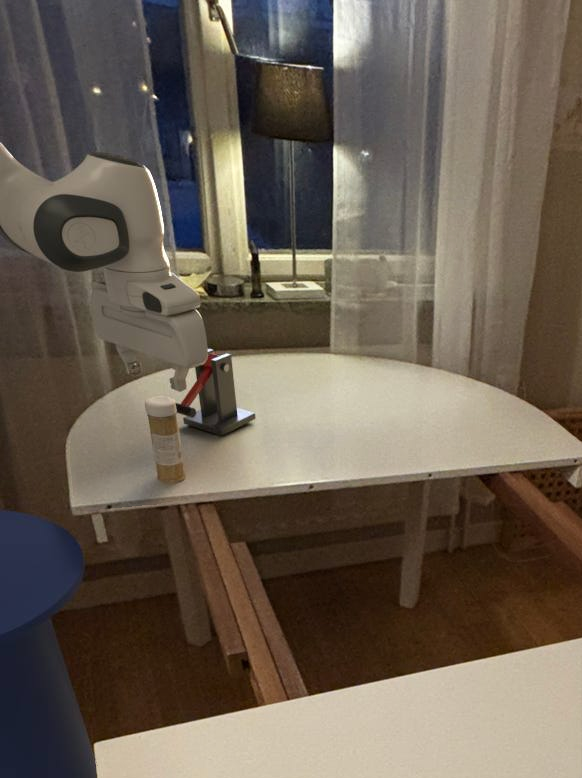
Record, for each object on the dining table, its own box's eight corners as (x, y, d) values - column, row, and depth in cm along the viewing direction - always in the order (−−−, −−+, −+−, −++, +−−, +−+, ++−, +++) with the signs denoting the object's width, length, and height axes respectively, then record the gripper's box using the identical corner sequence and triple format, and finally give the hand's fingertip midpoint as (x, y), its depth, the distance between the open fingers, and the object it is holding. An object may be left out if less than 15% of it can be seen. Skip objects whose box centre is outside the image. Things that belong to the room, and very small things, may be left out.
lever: (193, 420, 138) (187, 412, 136) (171, 414, 139) (165, 405, 137) (231, 366, 142) (225, 357, 140) (209, 360, 143) (203, 350, 141)
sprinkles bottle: (166, 471, 130) (153, 393, 122) (191, 476, 130) (180, 397, 122) (151, 482, 127) (138, 402, 119) (177, 486, 126) (165, 407, 118)
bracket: (222, 435, 143) (213, 367, 135) (183, 423, 145) (173, 356, 138) (255, 418, 150) (249, 353, 142) (218, 407, 153) (210, 342, 145)
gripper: (71, 275, 111) (92, 370, 119) (174, 306, 104) (189, 404, 112) (107, 268, 115) (125, 360, 124) (208, 297, 108) (220, 392, 117)
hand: (156, 381), depth 118 cm, fingers open, 8 cm apart
